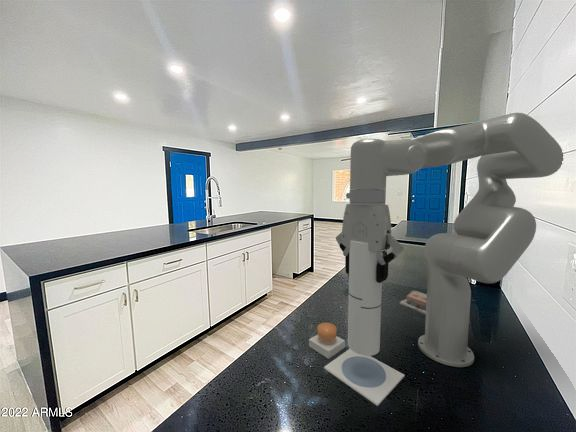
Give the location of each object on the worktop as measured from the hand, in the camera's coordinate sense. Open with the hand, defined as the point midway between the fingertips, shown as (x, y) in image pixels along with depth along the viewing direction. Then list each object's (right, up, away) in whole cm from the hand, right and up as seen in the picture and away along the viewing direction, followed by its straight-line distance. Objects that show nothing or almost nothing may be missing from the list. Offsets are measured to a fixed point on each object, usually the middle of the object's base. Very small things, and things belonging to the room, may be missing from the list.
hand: (365, 275), depth 56 cm
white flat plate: (0, -23, +2) cm, 24 cm away
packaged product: (+34, -21, +33) cm, 51 cm away
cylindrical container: (0, -17, +2) cm, 17 cm away
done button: (-7, -19, +12) cm, 23 cm away
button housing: (-7, -23, +12) cm, 26 cm away
